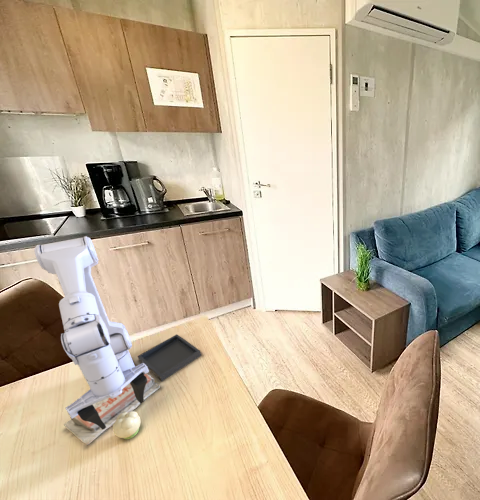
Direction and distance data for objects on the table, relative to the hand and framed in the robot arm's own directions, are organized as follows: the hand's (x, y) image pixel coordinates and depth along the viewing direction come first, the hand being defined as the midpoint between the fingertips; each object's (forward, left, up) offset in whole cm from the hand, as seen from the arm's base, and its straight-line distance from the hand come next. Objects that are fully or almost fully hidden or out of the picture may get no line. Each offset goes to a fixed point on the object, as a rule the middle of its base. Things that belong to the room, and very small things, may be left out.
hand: (122, 413), depth 67 cm
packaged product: (-11, +1, -7) cm, 13 cm away
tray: (-17, +18, -7) cm, 26 cm away
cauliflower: (0, 0, -7) cm, 7 cm away
